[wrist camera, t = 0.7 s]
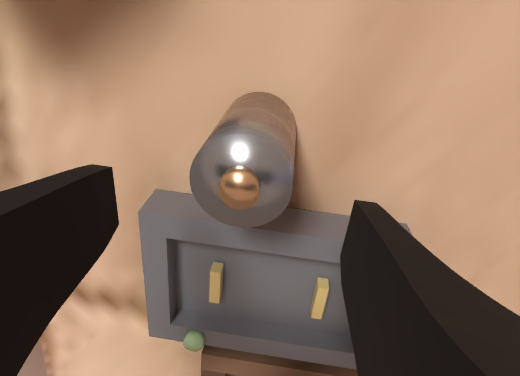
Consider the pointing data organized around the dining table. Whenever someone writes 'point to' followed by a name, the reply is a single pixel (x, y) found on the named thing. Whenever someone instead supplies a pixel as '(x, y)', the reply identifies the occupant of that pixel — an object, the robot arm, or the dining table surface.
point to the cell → (247, 162)
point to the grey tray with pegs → (246, 281)
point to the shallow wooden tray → (262, 365)
